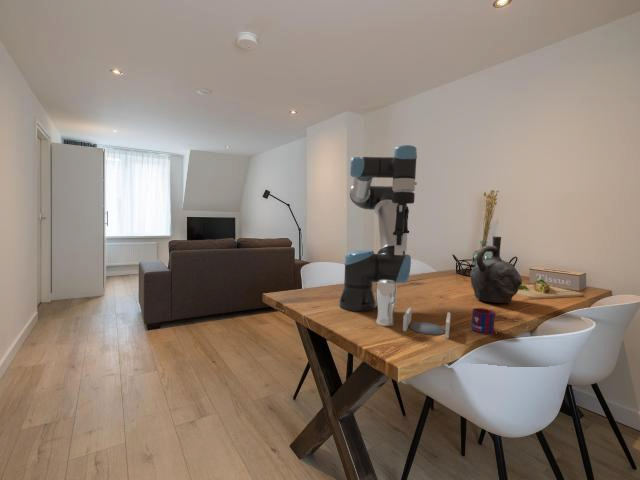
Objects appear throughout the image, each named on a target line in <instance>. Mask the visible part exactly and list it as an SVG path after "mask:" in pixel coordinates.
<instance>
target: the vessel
mask: <svg viewBox="0 0 640 480" xmlns="http://www.w3.org/2000/svg"><path fill="white" fill-rule="evenodd" d="M501 244H502V236H492V245H485V246H483V247H481V248H480V249H479V250H478V252H477V254H476V264H477V265H475V266H474V267H473V268H472V269H471V271H470V273H469V276H470V283H471V284H470V285H471V286H472V289H473V293H474V297H475V298H476V299H479V300H481V301H483V302H485V303H493V304H494V303H495V304H496V303H497V304H506V303H507V304H508V303H511V302H512V300H513V297H514V296H516V295H515V294H516V293H517V292H518V289H519V287H520V285H521V284H523V280H522V277H521V275H520V272H519V271H518V270H517V269H516V268H515V267H514V266H513V265H512V264H511V263H510V262H507V261H505V260H503V259H502V258H501ZM487 252H491V253H492V254H491V257H490V258H489V259H485V260H484V256H485V253H487Z"/></svg>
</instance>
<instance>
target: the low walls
mask: <svg viewBox="0 0 640 480" xmlns="http://www.w3.org/2000/svg"><path fill="white" fill-rule="evenodd" d="M412 308H413V307H411V306H408V309H406V312H405V313H404V314H403V317H402V318H403V321H402V331H403V332H407V330H408V328H409V327H410V324H411V322H412V315H413V312H412V311H413V309H412ZM451 314H452V312H448V311H447V314H446V320H445V330H444V335H445V336H444V338H445V339H449V337H450V331H451V329H450V327H451V316H452V315H451Z"/></svg>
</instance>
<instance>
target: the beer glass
mask: <svg viewBox="0 0 640 480" xmlns="http://www.w3.org/2000/svg"><path fill="white" fill-rule="evenodd" d="M375 300H376V308H377V317H376V324H377V325H378V326H382V327H392V326H394V324H395V322H394V309H395V306H396V300H397V283H396V281H393V280H386V279H381V280H377V282H376V289H375Z"/></svg>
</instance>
